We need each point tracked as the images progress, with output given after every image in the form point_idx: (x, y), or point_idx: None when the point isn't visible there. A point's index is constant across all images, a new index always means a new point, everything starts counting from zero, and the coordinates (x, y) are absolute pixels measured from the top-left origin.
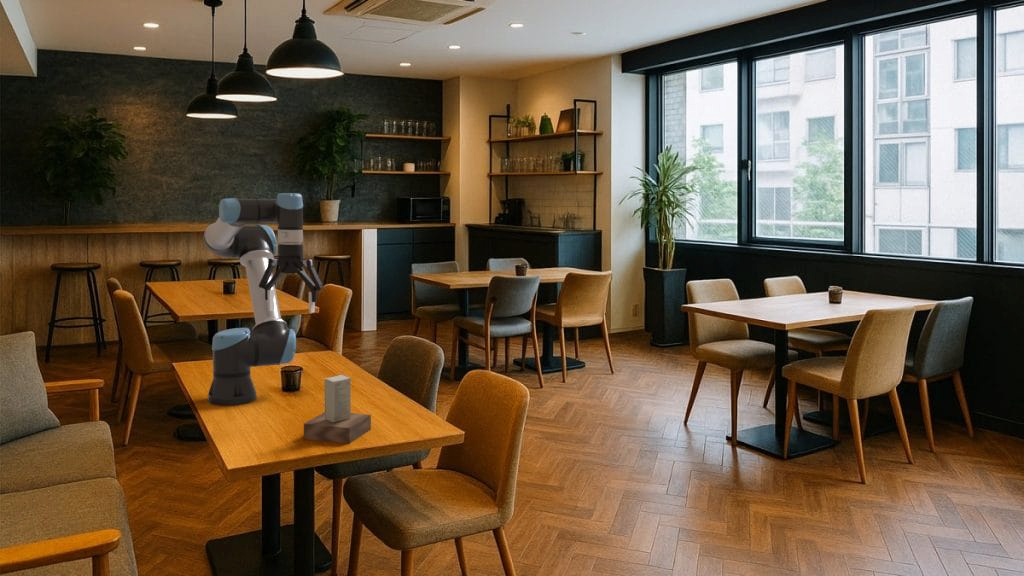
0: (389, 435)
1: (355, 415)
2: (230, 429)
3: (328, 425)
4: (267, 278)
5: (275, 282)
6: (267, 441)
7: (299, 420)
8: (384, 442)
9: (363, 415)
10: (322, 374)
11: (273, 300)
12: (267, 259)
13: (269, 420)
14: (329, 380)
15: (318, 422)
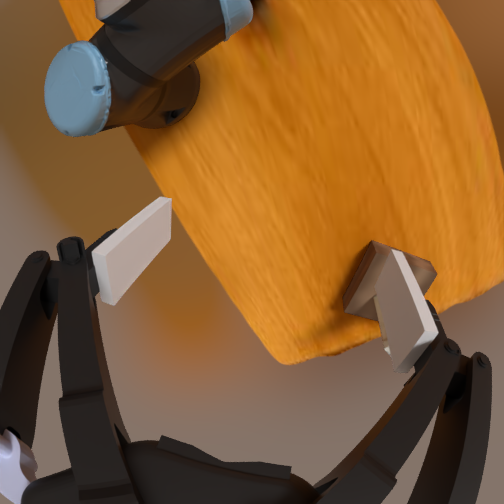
0: (446, 284)
1: (417, 277)
2: (228, 256)
3: (377, 319)
4: (38, 328)
5: (91, 308)
6: (296, 305)
7: (323, 211)
8: (435, 308)
9: (427, 277)
10: None
11: (145, 225)
12: None
13: (271, 211)
14: (390, 354)
15: (364, 308)
